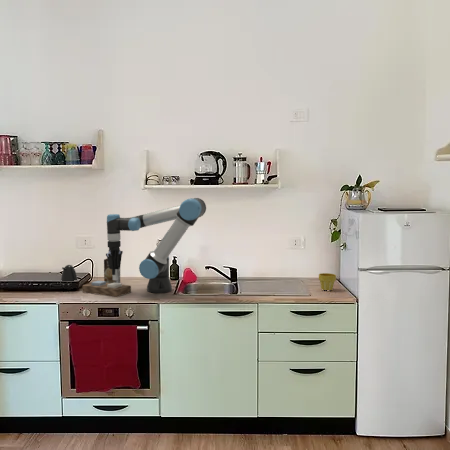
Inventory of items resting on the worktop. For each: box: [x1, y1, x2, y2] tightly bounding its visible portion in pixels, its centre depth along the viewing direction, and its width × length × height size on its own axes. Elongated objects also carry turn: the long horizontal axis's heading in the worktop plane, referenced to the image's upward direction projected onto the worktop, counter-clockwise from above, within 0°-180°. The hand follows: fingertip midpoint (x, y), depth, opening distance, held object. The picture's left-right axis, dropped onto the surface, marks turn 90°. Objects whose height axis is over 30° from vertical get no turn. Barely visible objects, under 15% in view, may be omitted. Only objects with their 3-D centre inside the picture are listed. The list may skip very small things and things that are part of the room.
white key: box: [107, 282, 123, 288], centre depth 305 cm, size 6×6×3 cm
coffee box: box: [103, 258, 121, 284], centre depth 332 cm, size 9×6×16 cm
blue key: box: [91, 280, 106, 286], centre depth 310 cm, size 6×6×3 cm
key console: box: [82, 282, 132, 298], centre depth 308 cm, size 26×13×4 cm, turn 63°
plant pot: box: [318, 272, 337, 291], centre depth 317 cm, size 10×10×10 cm
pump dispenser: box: [60, 264, 78, 281], centre depth 314 cm, size 10×10×15 cm
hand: (115, 280), depth 304 cm, fingers closed
